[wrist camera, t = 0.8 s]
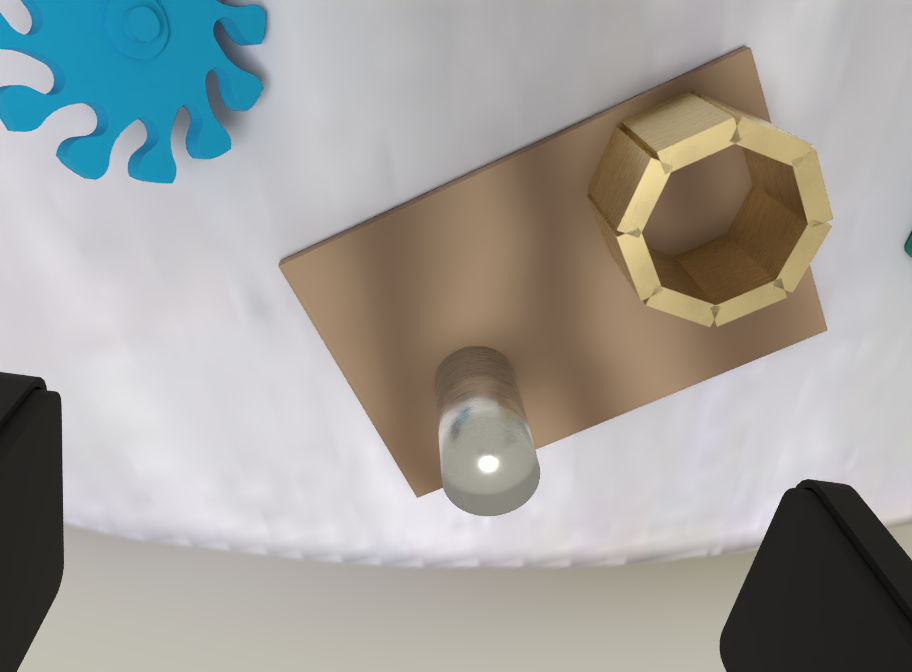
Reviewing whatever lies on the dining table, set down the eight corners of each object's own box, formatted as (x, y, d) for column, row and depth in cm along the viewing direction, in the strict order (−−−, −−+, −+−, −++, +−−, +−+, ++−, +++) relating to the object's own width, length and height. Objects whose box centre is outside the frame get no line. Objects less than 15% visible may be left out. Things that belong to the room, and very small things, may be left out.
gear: (292, 167, 31) (12, 210, 24) (205, 161, 34) (-58, 196, 27) (255, -173, 27) (-88, -239, 20) (163, -138, 31) (-152, -183, 24)
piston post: (497, 333, 35) (517, 420, 29) (528, 398, 37) (554, 494, 31) (421, 365, 36) (425, 458, 29) (455, 428, 37) (466, 529, 31)
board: (744, 46, 31) (750, 48, 31) (821, 324, 37) (827, 330, 36) (280, 260, 34) (278, 266, 33) (417, 490, 39) (417, 497, 39)
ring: (742, 64, 31) (799, 87, 26) (787, 227, 34) (846, 272, 29) (567, 145, 32) (594, 180, 27) (626, 296, 35) (659, 350, 30)
